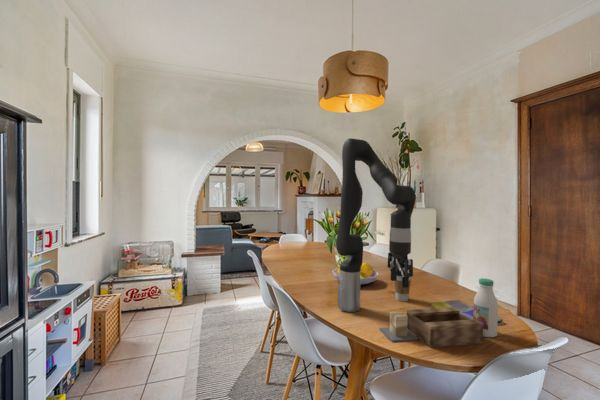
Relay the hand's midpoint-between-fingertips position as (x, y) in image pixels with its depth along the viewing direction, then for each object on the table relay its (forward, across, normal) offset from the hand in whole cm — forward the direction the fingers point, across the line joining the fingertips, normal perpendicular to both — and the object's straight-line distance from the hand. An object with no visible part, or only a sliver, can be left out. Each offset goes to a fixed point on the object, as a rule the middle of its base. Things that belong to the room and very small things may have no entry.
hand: (399, 283), depth 110 cm
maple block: (+18, -1, 0) cm, 18 cm away
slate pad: (+18, -1, 0) cm, 18 cm away
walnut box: (+18, -4, -16) cm, 24 cm away
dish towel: (+19, +13, -38) cm, 44 cm away
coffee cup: (+19, +34, -20) cm, 44 cm away
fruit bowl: (+19, +67, -8) cm, 70 cm away
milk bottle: (+18, -4, -32) cm, 38 cm away
